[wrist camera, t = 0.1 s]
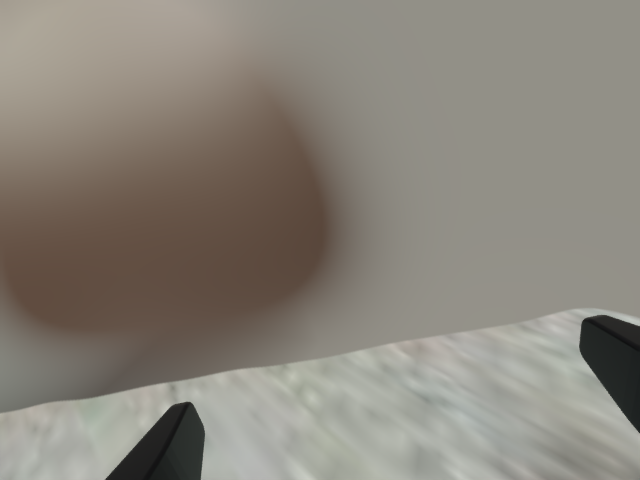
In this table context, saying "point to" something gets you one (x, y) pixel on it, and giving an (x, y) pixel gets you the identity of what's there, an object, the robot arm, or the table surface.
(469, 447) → the table surface
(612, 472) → the table surface
